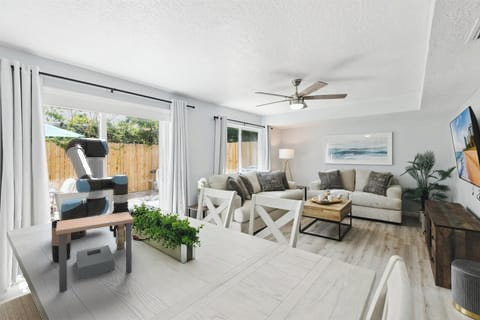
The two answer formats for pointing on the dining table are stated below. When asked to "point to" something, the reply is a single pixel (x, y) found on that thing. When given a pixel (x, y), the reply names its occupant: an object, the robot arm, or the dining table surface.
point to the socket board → (94, 261)
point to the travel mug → (56, 242)
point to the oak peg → (121, 236)
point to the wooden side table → (87, 224)
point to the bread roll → (135, 237)
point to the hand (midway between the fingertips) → (120, 241)
